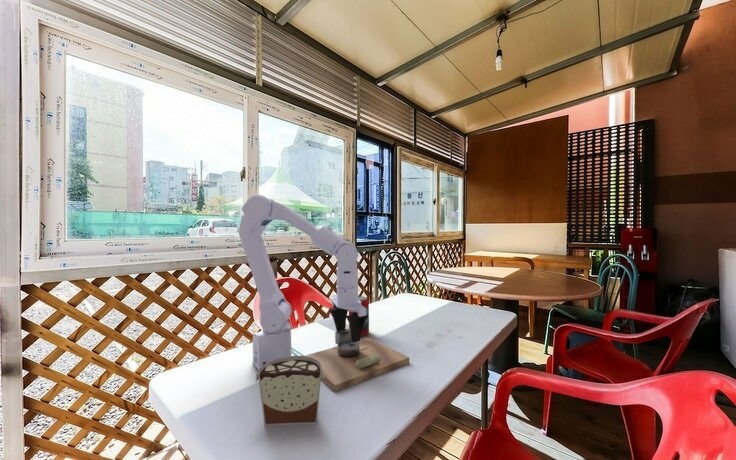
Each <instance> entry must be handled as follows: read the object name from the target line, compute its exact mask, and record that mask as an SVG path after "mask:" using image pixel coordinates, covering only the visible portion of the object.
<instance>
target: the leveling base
mask: <svg viewBox="0 0 736 460" xmlns="http://www.w3.org/2000/svg"><path fill="white" fill-rule="evenodd" d="M359 345H360V353H359V354H358V355H356V356H352V357H343V356H340V355H338V354H337V346H335V347H331V348H327V349H324V350H319V351H316V352H312V353H309V354H306V355H304V356H308V357H312V358H315V359H317V360H318V361H319V362H320V363H321V365H322V367H323V371H324V376H325V379H323V374H322V373H321V382H323V383H324V384H325V385H326V386H328V387H329V389H330V390H332V391H333V392H334V393H337V392H339V391H342V390H344V389H347V388H349V387H353V386H355V385H357V384H360V383H362V382H363V383H364V382H365V381H367V380H369V379H370V380H371V379H373V378H376V377H378V376H380V375H383V374H386V373H388V372H390V371H393V370H395V369H398V368H401V367H404V366H406V365H409V364H410V356H407V355H405V354H404V353H400V352H399V351H397V350H394V349H392V348H391V347H389V346H386V345H385V344H382V343H380V342H379V341H376V340H374V339H373V338H370V337H364V338H361V339H360V341H359Z"/></svg>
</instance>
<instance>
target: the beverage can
mask: <svg viewBox="0 0 736 460" xmlns="http://www.w3.org/2000/svg"><path fill="white" fill-rule="evenodd" d="M358 300H359V301H361V305H362V306H363V307H365V308H366V314H368V318H367V320H366V322H365V324H364V326H363V330H362V334H361V337H364V336H366V335H367V334H368V333H370V305H369V304H370V302H369V301H368V298H367V297H366V296H363V295H361V296H360V295H358ZM352 314H353V312H350V311H348V315H352ZM349 328H350V326H349V325H348V329H349Z"/></svg>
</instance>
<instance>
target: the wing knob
mask: <svg viewBox="0 0 736 460" xmlns="http://www.w3.org/2000/svg"><path fill="white" fill-rule="evenodd" d="M334 333H335V334H334V339H335V340H334V341H335V342H334V343H335V344H336V347H337V354H338V355H340V356H343V357H352V356H356V355H358V354H359V353H360V345H359V341H357V342H352V339H351V331H350V328H349V327H348V328H345V330H341V331H337V330H336V331H334ZM361 339H362V338H360V340H361Z"/></svg>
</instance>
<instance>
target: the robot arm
mask: <svg viewBox="0 0 736 460" xmlns="http://www.w3.org/2000/svg"><path fill="white" fill-rule="evenodd" d="M241 212H242V213H241V218H240V222H239V226H238V227H239V229H238V236H239V239H240V242H241V244H242V248H243V251H244V253H245V257H246V260H247V263H248V266H249V268H250V272H251V274H252V278H253V281H254V283H255V286H256V289H257V293H258V295H259V302H258V309H259V311H260V316H259V322H260V323H259V324H260V326H261V328H262V330H260V331H258V332H256V333H255V332H254V333H253V335H252V361H251V362H252V365H254V366H255V368H256V369H257V371H258V370H259V369H260V368H261V367H262V366H263V365H265V364H266V363H268V362H270V361H273V360H275V359H278V358H282V357H288V356H292V353H291V351H292V349H291V347H292V324H291V323H290V321H289V319H290V317H291V315H292V313H293V309H292V305H291V304H290V303H289V302H288V301H287V299H286V298H285V295H284V293H283V292H282V291H281V289H280V288H279V285H278V281H277V278H276V276H275V273H274V269H273V267H272V264H271V261H270V258H269V254H268V252H267V249H266V247H265V246H266V245H265V244H264V243H265V242H264V240H263V236H262V234H263V233H264V231H265V230H266V228H267V226H268V225H269V224H270V223H271V222H272V221H273V222H274V220H276V221H283V222H286V224H287V223H288V224H289V225H291V226H293V227H294V228H295V229H297V230H299V231H301V232H302V233H304V234H306V235H307V236H309V238H310V241H311V244H312V245H314V246H316V248H319V249H321V250H322V251H323V252H325V253H326V254H328V255H330V256H332V257H333V256H335V258H336V259H335V260H336V262H337V264H336V265H337V269H336V297H334V298H333V297H332V298H331V306H333V307H330V308H329V309H328V312H329V313H330V314H331V317H332V319H333V322H334V326H335V330H336V332H337V331H341V330H345V329H347V328H346V325H347V322H348V327H349V326H350V331H351V339H352V342H357V341H360V340H361V339H362V338H361V337H362V336H361V334H362V330H363V326H364V324H365V322H366V320H367V318H368V314H366V308H365V307H363V306H362V305H361V301H359V300H358V296H359V274H358V273H359V271H358V270H359V269H358V268H357V267H358V262H357V260H358V258H359V253H358V249H357V247H356V245H355V244H354V243H353V242H351V241H349V240H347V237H345V236H343V237H342V236H341V235H339V234H338V233H336V232H334V231H333V228H332V227H331V226H326V225H319V226H317V225H314V223H312V222H311V221H309V220H307V218H305V217H303V216H302V215H300V214H299V213H298V212H296V211H295V210H293V209H291V208H290V207H288V206H286V205H284V204H282V203H280V202H277V201H275V200H274V199H271V198H268V197H266V196H264V195H262V194H261V195H260V194H255V195H252V196H250V197H249V198H248V199H247V200H246V201H245V203H244V204H243V206H242V207H241ZM349 311H350V312H353V314H352V315H349ZM360 338H361V339H360Z"/></svg>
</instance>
